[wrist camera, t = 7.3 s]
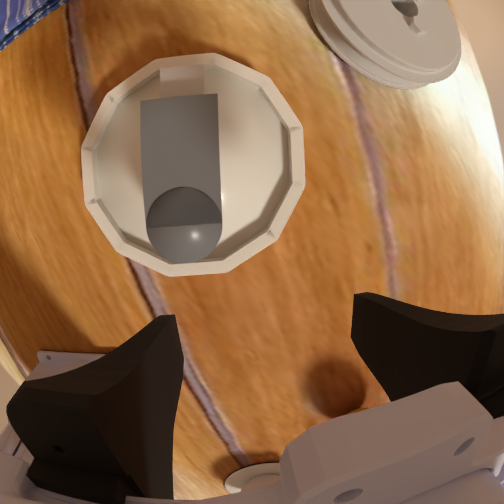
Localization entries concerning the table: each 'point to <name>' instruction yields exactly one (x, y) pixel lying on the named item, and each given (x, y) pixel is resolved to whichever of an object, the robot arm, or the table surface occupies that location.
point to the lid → (392, 38)
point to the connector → (181, 166)
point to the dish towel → (22, 16)
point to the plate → (231, 164)
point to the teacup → (252, 477)
